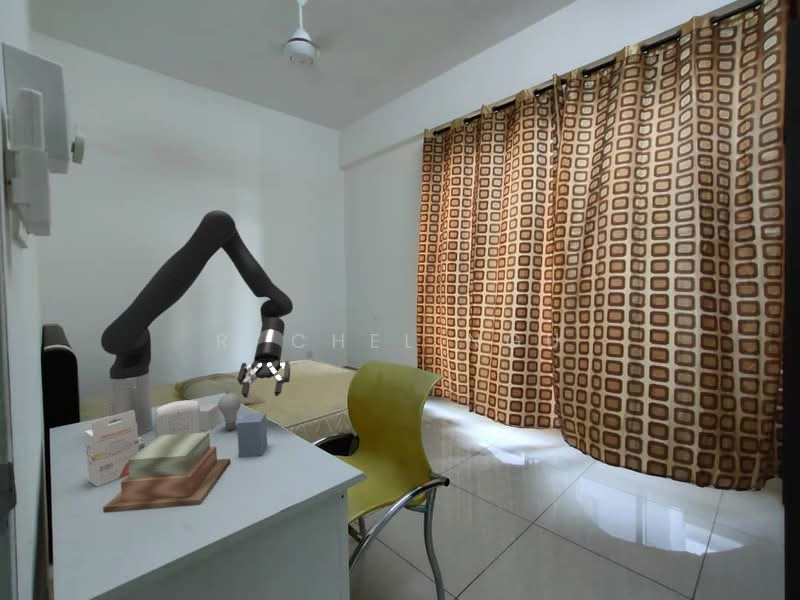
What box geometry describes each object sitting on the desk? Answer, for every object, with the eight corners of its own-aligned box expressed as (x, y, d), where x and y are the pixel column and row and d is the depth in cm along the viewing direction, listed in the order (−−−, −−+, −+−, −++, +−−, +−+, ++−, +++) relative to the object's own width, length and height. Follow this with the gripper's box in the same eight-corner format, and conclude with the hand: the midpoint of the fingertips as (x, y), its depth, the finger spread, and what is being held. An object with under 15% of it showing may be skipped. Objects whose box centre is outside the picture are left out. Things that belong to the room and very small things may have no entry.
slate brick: (238, 457, 88) (237, 423, 88) (246, 447, 94) (244, 414, 93) (261, 456, 89) (259, 421, 89) (267, 446, 95) (265, 413, 94)
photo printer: (201, 438, 100) (198, 395, 99) (202, 444, 96) (200, 400, 96) (157, 448, 94) (154, 403, 93) (157, 455, 91) (154, 408, 90)
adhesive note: (189, 430, 105) (188, 411, 105) (201, 422, 111) (200, 404, 111) (209, 430, 105) (208, 410, 105) (220, 422, 111) (219, 403, 111)
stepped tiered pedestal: (103, 512, 68) (100, 467, 68) (152, 468, 84) (149, 431, 84) (200, 504, 70) (198, 460, 70) (230, 462, 86) (228, 426, 86)
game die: (145, 444, 97) (144, 434, 96) (144, 450, 94) (144, 439, 93) (128, 448, 95) (128, 437, 94) (128, 454, 92) (127, 442, 91)
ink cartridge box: (132, 463, 86) (127, 405, 86) (141, 469, 84) (137, 409, 83) (87, 481, 79) (82, 417, 78) (95, 488, 77) (90, 422, 76)
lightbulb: (216, 430, 105) (214, 394, 104) (237, 423, 110) (235, 389, 109) (224, 436, 101) (222, 398, 100) (245, 429, 105) (243, 393, 105)
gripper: (242, 341, 106) (230, 391, 95) (290, 339, 108) (284, 388, 97) (249, 355, 112) (238, 403, 101) (294, 353, 113) (289, 400, 103)
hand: (260, 395), depth 99 cm, fingers open, 8 cm apart
